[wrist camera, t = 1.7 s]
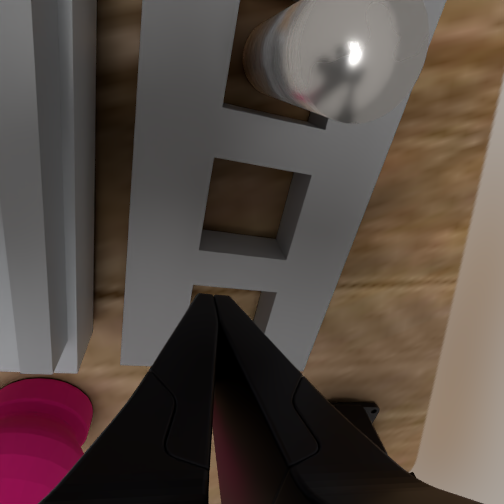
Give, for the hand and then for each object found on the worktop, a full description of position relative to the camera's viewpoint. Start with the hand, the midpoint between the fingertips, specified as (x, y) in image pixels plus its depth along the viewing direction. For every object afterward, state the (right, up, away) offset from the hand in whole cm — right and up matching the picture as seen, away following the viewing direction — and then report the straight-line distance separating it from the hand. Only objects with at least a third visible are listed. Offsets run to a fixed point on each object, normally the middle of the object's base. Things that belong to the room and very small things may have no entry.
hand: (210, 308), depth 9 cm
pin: (+2, +10, +6) cm, 12 cm away
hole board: (+1, +4, +9) cm, 10 cm away
